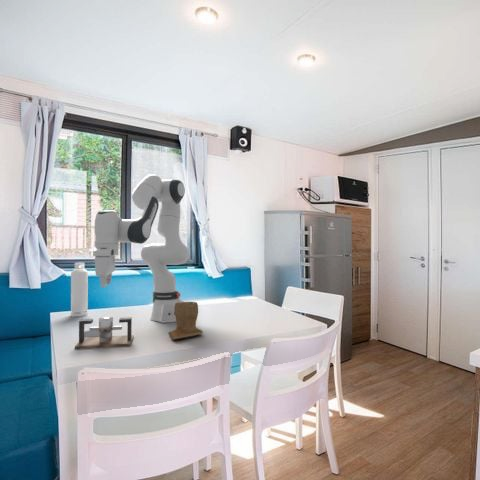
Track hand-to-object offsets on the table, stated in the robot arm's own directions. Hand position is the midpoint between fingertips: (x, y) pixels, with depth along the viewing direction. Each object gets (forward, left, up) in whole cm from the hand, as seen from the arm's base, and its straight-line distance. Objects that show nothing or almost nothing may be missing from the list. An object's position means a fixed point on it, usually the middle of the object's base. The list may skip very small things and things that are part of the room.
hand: (106, 285), depth 131 cm
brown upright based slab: (-31, -4, -23) cm, 39 cm away
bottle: (+23, -51, -23) cm, 61 cm away
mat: (+7, -12, -23) cm, 27 cm away
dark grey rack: (0, 0, -23) cm, 23 cm away
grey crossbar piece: (0, 0, -18) cm, 18 cm away
